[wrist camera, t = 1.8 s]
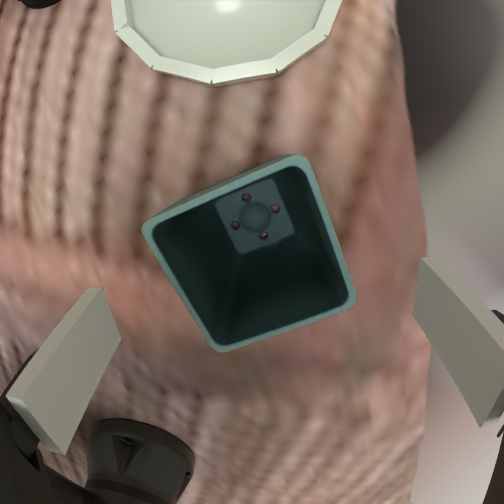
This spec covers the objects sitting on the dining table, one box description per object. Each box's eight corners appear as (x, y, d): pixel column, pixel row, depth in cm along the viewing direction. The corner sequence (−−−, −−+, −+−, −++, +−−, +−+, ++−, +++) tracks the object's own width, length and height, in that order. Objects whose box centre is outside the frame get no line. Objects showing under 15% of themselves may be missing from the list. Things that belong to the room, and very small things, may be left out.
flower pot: (226, 285, 27) (215, 357, 18) (176, 188, 24) (136, 226, 15) (327, 245, 25) (360, 305, 17) (286, 139, 22) (305, 150, 14)
